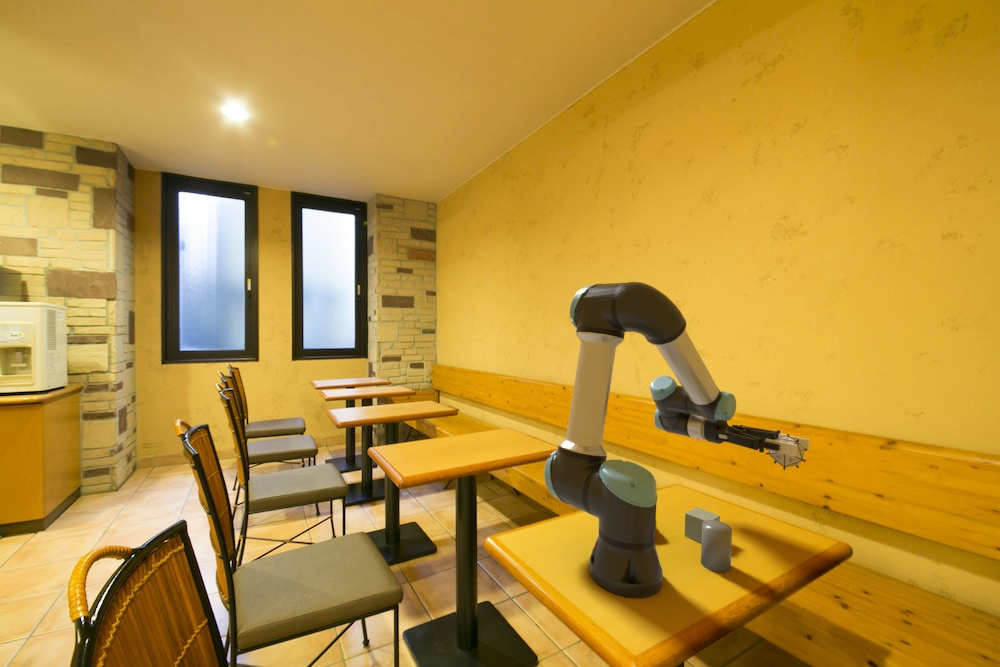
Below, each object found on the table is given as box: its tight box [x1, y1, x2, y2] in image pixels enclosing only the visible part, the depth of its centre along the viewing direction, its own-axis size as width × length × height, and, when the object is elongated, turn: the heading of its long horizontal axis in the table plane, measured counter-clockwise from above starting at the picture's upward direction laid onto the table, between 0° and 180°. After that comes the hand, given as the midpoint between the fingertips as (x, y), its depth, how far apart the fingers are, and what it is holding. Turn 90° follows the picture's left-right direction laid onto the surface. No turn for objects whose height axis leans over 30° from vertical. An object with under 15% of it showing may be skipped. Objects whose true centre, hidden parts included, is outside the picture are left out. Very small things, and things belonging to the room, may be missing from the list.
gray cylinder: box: [700, 520, 733, 574], centre depth 96 cm, size 6×6×9 cm
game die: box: [764, 433, 809, 471], centre depth 106 cm, size 9×8×10 cm
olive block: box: [684, 507, 721, 544], centre depth 108 cm, size 6×6×6 cm
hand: (802, 447), depth 103 cm, fingers closed on game die, 8 cm apart
